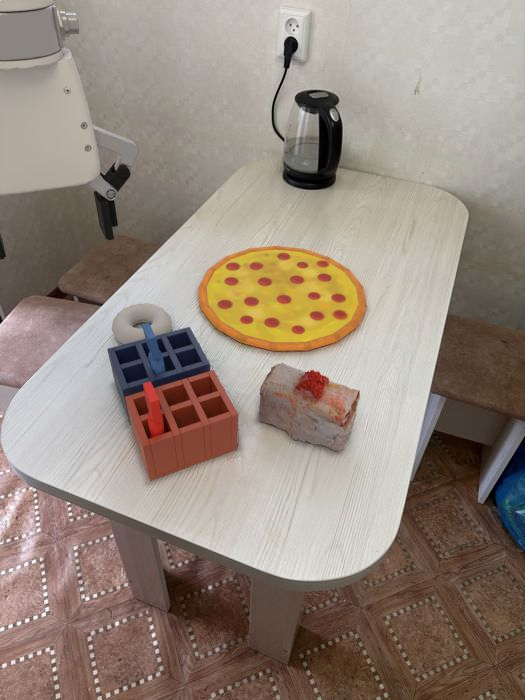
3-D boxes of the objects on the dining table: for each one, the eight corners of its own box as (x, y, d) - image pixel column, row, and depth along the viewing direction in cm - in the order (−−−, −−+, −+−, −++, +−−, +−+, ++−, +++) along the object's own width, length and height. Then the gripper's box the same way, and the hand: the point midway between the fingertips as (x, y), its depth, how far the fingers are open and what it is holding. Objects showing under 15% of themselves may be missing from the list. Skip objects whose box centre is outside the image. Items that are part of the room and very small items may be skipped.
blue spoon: (163, 406, 75) (145, 340, 65) (157, 391, 77) (138, 325, 67) (175, 402, 75) (158, 335, 66) (168, 387, 77) (151, 321, 68)
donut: (134, 309, 92) (101, 342, 85) (131, 293, 90) (98, 326, 83) (182, 324, 90) (153, 359, 83) (181, 308, 87) (151, 343, 80)
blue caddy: (130, 425, 73) (122, 389, 67) (115, 384, 78) (106, 348, 73) (211, 399, 77) (210, 363, 72) (192, 362, 83) (189, 326, 77)
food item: (357, 422, 75) (369, 376, 68) (341, 463, 70) (353, 418, 63) (272, 392, 79) (276, 346, 72) (251, 429, 73) (253, 383, 67)
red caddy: (150, 481, 66) (142, 446, 61) (132, 432, 72) (124, 396, 67) (237, 449, 71) (238, 414, 65) (214, 405, 76) (213, 369, 71)
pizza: (249, 234, 112) (249, 230, 111) (388, 279, 102) (389, 274, 101) (163, 313, 91) (162, 308, 90) (326, 379, 81) (327, 374, 80)
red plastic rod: (158, 469, 67) (146, 403, 58) (151, 450, 69) (139, 384, 60) (171, 464, 68) (162, 398, 58) (164, 446, 70) (154, 380, 60)
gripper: (112, 19, 42) (135, 210, 53) (-135, 25, 36) (-48, 239, 47) (137, 41, 37) (156, 245, 48) (-143, 51, 31) (-45, 283, 42)
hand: (55, 242), depth 48 cm, fingers open, 9 cm apart
